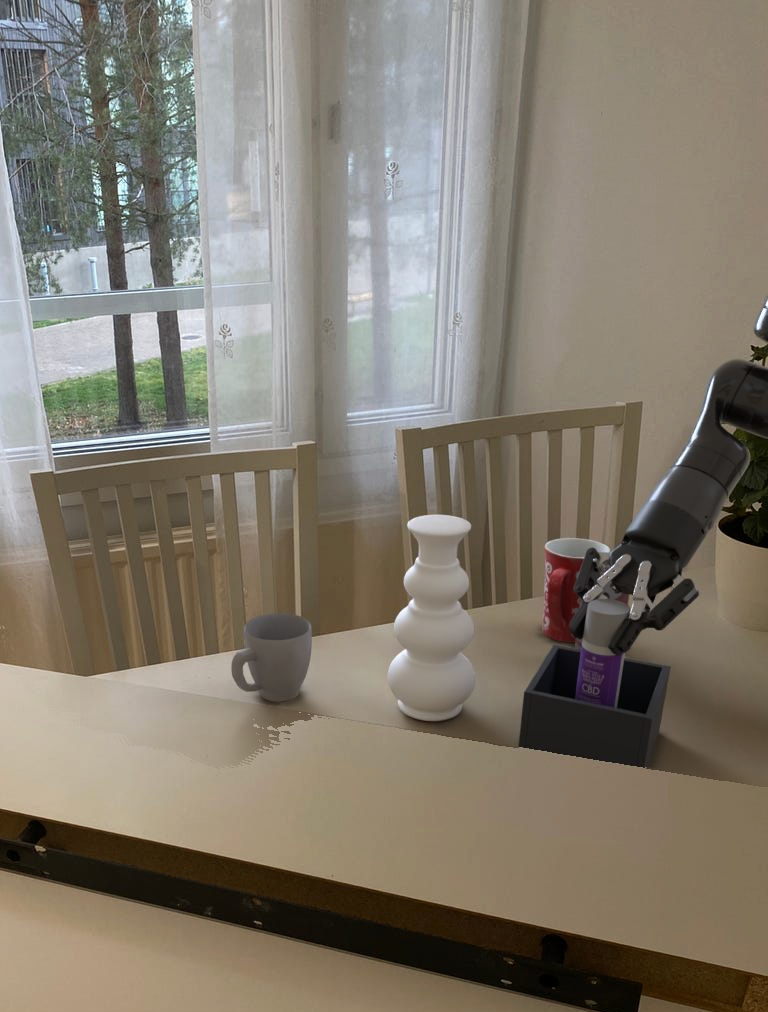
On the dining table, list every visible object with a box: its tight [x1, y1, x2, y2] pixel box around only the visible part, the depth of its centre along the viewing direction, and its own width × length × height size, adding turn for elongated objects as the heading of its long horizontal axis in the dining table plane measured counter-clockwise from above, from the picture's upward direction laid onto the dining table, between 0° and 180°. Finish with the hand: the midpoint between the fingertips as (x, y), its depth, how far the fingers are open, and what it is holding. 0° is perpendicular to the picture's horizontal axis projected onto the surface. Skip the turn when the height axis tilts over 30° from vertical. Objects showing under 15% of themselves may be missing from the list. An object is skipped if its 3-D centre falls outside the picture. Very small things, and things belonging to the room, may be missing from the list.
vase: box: [387, 514, 476, 722], centre depth 111 cm, size 11×11×25 cm
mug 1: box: [230, 612, 313, 703], centre depth 118 cm, size 12×9×10 cm
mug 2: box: [542, 537, 611, 643], centre depth 132 cm, size 13×9×14 cm
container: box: [575, 599, 631, 708], centre depth 104 cm, size 5×5×15 cm
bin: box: [518, 644, 672, 769], centre depth 106 cm, size 14×14×9 cm
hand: (594, 643), depth 101 cm, fingers closed on container, 4 cm apart
